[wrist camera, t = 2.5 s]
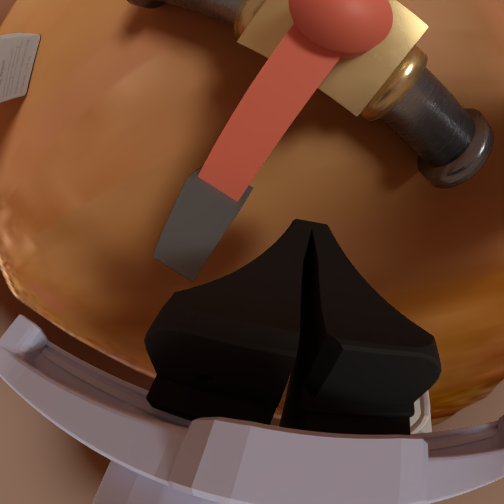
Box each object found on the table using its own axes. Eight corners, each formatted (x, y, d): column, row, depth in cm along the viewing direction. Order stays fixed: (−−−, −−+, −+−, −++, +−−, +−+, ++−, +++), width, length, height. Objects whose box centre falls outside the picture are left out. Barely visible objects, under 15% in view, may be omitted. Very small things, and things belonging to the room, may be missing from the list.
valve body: (408, 55, 9) (448, 45, 5) (358, 118, 12) (378, 134, 8) (295, -17, 8) (284, -58, 4) (247, 47, 11) (213, 31, 7)
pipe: (462, 114, 10) (508, 130, 6) (416, 169, 13) (449, 203, 9) (197, -46, 8) (157, -75, 4) (157, 11, 10) (106, -1, 7)
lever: (321, -23, 5) (321, -46, 3) (392, 22, 5) (410, 8, 4) (166, 226, 12) (144, 250, 11) (216, 258, 13) (201, 287, 11)
